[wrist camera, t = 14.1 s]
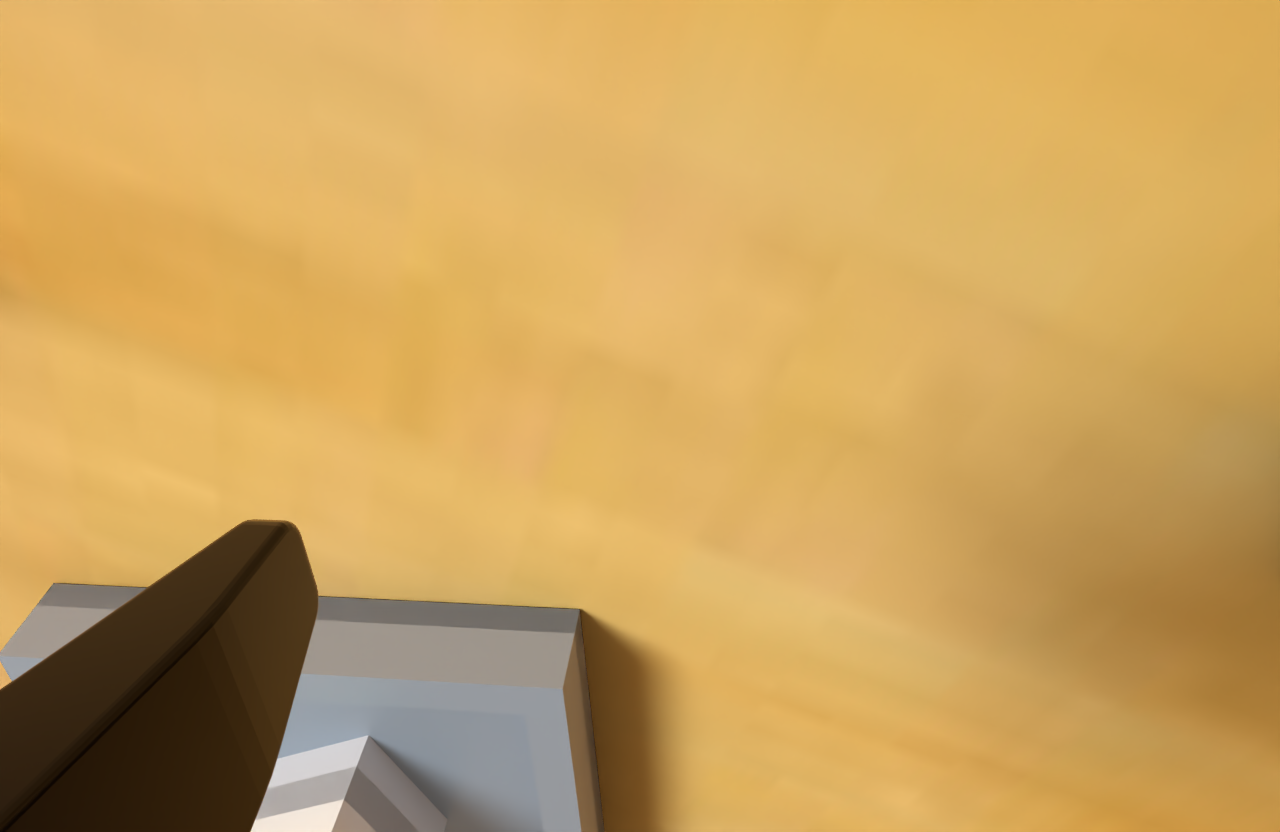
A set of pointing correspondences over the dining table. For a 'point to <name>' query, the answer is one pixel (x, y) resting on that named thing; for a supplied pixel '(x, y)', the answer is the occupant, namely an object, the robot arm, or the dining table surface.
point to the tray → (421, 699)
